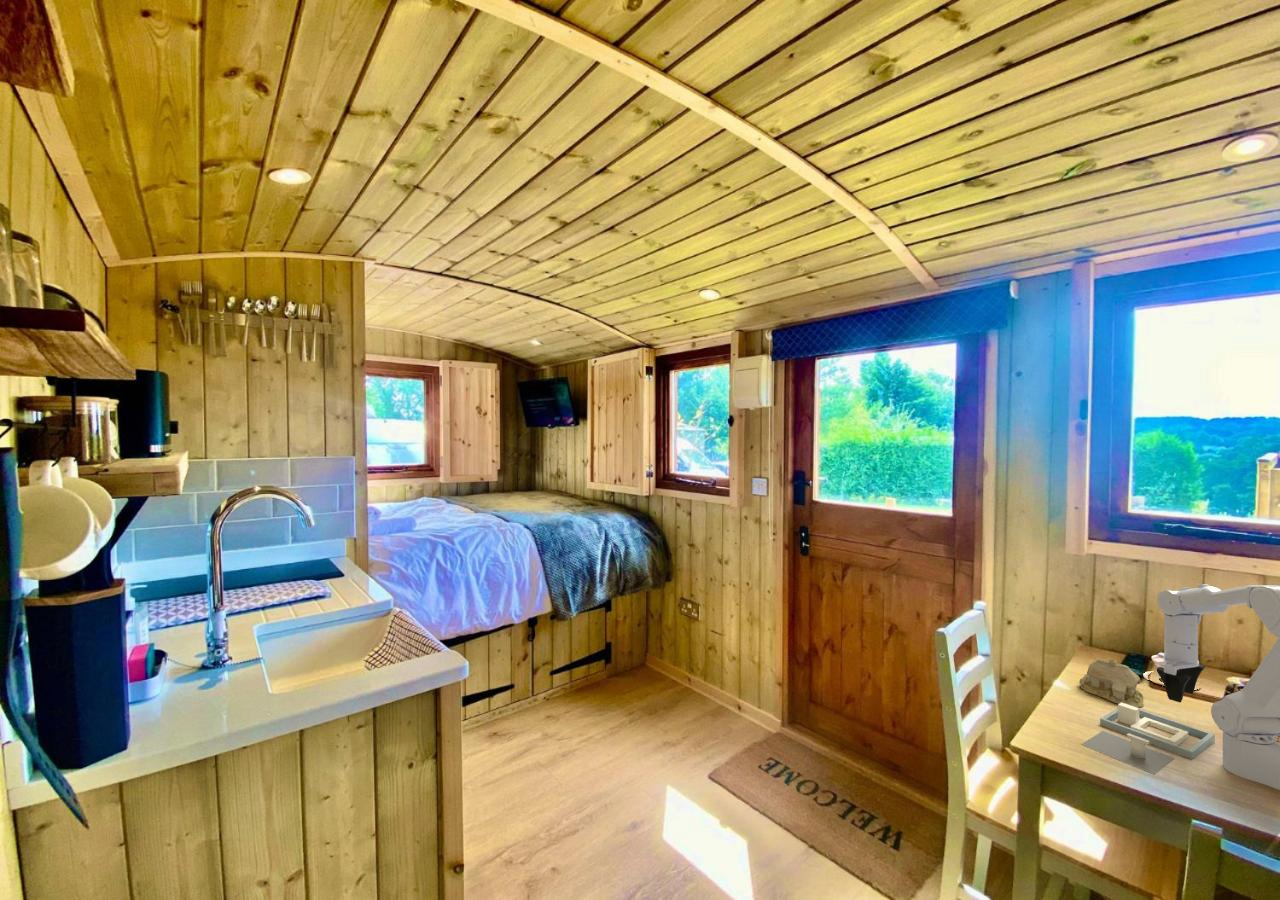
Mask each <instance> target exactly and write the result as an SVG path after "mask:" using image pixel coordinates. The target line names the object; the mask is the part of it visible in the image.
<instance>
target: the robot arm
mask: <svg viewBox="0 0 1280 900" xmlns="http://www.w3.org/2000/svg"><path fill="white" fill-rule="evenodd" d="M1156 602H1157V605H1158V607H1159V609H1160V610H1161V612H1163V616H1164V617H1163V618H1164V619H1163V620H1164V621H1163V623H1164V626H1163V631H1164V632H1163V635H1164V636H1163V638H1164V639H1163V640H1164V643H1163V644H1164V645H1163V649H1164V650H1163V651H1164V652H1161V651H1160V652H1159V653H1157V655H1158V657H1161V658H1163V659H1164V663H1165V664H1164V668H1162V667H1158V668H1157V667H1156V671H1157V673H1158V674H1159V676H1160V677H1161V678H1160V680H1161V681H1162V682H1163V683H1164V686H1165V687H1164V688H1165V691H1166V692H1165V693H1166V695H1167V699H1168V700H1169V701H1170V700H1171V701H1174V702H1177V703H1182V701H1183V698H1184V694H1185V693H1186V694H1187V693H1188V694H1190V695H1192V694H1194V692H1195V691H1194V689H1195V686H1196V682H1197V681H1198V679H1199V677H1200V675H1201V674H1202V672H1203V671H1204V669H1205V668H1206V667H1205V665H1204V664H1203V663H1200V661H1199V642H1198V641H1199V637H1198V636H1199V629H1198V628H1199V625H1198V624H1200V623H1201V622H1202V619H1201V618H1202V617H1203V615H1206V614H1217V613H1224V612H1227V611H1228V609H1229V608H1230V607H1231V606H1238V605H1239V606H1241V605H1246V607H1248V609H1252V610H1253V611H1254V612H1255V614H1256V615H1257V617H1258V618H1259V620H1260V621H1261V622H1262V623H1263V625H1264V626H1265V628H1266V629H1267V631H1268V632H1269V633H1270V634H1271V635H1273V636H1275V637H1277V640H1276V641H1275V643H1274V644H1273V645H1272V647H1271V648H1270V650H1269V651H1268V653H1267V654H1266V655H1265V657H1264V658H1263V660H1262V661H1261V662H1260V664H1259V665H1258V667H1257V668H1256V670H1255V671H1254V672H1253V673H1252V675H1251V677H1250V678H1249V679H1248V681H1247V682H1246V683H1245V685H1244V687H1243V688H1242V689H1241V690H1238V691H1236V692H1233V693H1230V694H1227V695H1225V696H1224V697H1223V698H1222V699H1221V700H1218V701H1215V702H1214V703H1212V705H1211V707H1210V714H1211V717H1212V720H1213V721H1214V723H1215V725H1216V726H1217V727H1218V729H1219V730H1221V731H1222V767H1223V768H1224V769H1225V770H1226V771H1228V772H1230V773H1232V774H1234V775H1235V776H1237V777H1240V778H1242V779H1245V780H1249V781H1253V782H1256V783H1258V784H1262V785H1264V786H1268V787H1270V788H1273V789H1275V790H1278V791H1280V743H1279V742H1277V741H1278V740H1279V736H1280V585H1265V584H1264V585H1244V586H1238V587H1234V588H1228V589H1220V588H1218V587H1216V586H1211V585H1209V584H1208V583H1207V584H1206V583H1205V584H1203V583H1202V584H1197V587H1196V588H1195V587H1194V588H1190V587H1181V588H1180V590H1168V589H1164V590H1163V591H1160V592H1159V593H1158V595H1157V597H1156ZM1197 683H1198V682H1197Z"/></svg>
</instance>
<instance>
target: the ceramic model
mask: <svg viewBox="0 0 1280 900" xmlns="http://www.w3.org/2000/svg"><path fill="white" fill-rule="evenodd" d="M1079 684H1080V688H1081V689H1082V690H1083V691H1085V692H1086V693H1090V694H1092V695H1095V696H1097V697H1100V698H1103V699H1105V700H1107V701H1109V702H1112V703H1114V704H1117V705H1118V704H1120V703H1121V702H1122V703H1125V704H1128V705H1131V706H1134V707H1137V708H1143V707H1145V705H1144V695H1143V693H1142V692H1140V691H1139V690H1138V689H1137V686H1138V685H1140V684H1141V678H1140V676H1139V675H1138V674H1136V673H1135V672H1134V671H1133V670H1132V669H1131V668H1130V667H1129V666H1128V665H1125V664H1121V663H1117V660H1116V659H1113V658H1110V659H1108V660H1105V659H1101V658H1097V659H1096V660H1092V661H1091V662H1090V664H1089V666H1088V669H1087V671H1086V674H1083V676H1082V678H1080V679H1079Z"/></svg>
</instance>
